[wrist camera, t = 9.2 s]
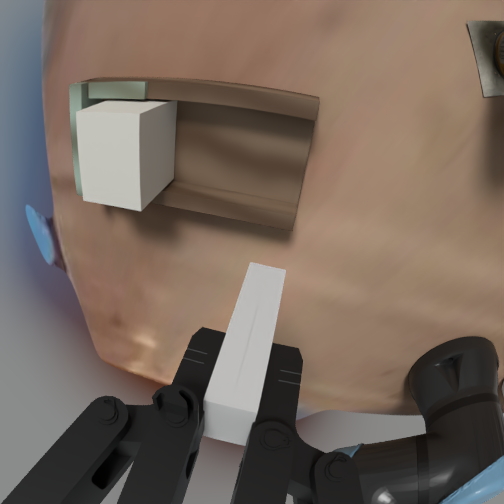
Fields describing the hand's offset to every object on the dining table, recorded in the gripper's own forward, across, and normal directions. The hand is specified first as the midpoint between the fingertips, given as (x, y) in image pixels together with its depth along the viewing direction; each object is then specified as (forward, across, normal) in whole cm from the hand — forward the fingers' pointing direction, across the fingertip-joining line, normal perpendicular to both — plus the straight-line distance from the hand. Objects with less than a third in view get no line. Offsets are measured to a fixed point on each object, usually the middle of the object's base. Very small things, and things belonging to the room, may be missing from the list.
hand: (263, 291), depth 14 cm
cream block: (+17, +14, -1) cm, 22 cm away
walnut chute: (+18, +10, -1) cm, 21 cm away
